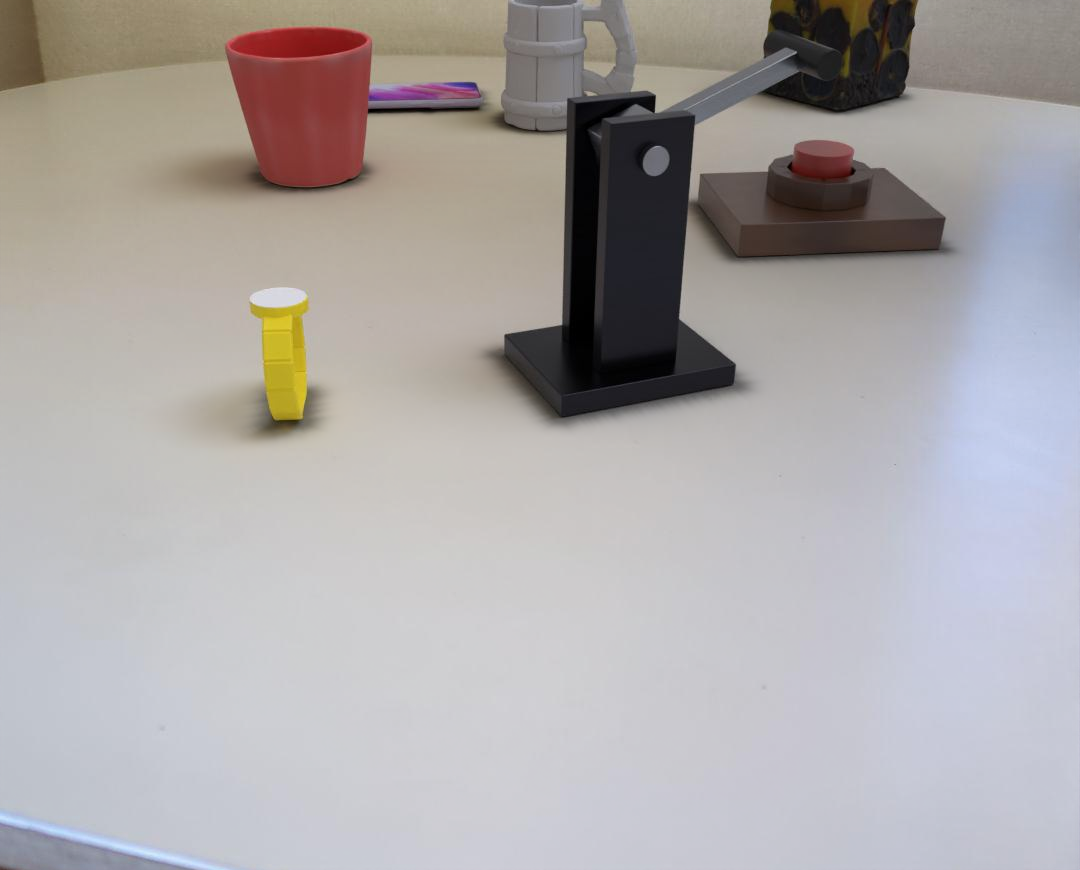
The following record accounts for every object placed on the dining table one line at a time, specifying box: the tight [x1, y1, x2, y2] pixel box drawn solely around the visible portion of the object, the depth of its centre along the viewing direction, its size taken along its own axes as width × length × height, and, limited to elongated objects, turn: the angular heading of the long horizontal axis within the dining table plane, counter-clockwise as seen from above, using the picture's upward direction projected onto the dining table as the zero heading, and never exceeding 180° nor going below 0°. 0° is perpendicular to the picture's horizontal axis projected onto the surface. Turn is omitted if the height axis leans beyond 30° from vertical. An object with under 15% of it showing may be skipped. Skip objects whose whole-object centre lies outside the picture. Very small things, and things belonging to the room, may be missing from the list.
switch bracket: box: [503, 90, 737, 417], centre depth 61 cm, size 10×8×14 cm
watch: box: [249, 286, 310, 421], centre depth 59 cm, size 6×3×6 cm, turn 5°
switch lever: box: [588, 30, 843, 168], centre depth 59 cm, size 12×5×2 cm, turn 113°
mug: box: [500, 0, 638, 132], centre depth 103 cm, size 8×12×12 cm, turn 81°
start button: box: [791, 139, 855, 179], centre depth 82 cm, size 4×4×2 cm
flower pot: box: [224, 26, 373, 188], centre depth 91 cm, size 11×11×10 cm
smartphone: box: [368, 81, 484, 110], centre depth 111 cm, size 7×1×15 cm
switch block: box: [697, 154, 947, 258], centre depth 84 cm, size 14×11×4 cm
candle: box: [762, 0, 919, 111], centre depth 113 cm, size 10×10×10 cm
